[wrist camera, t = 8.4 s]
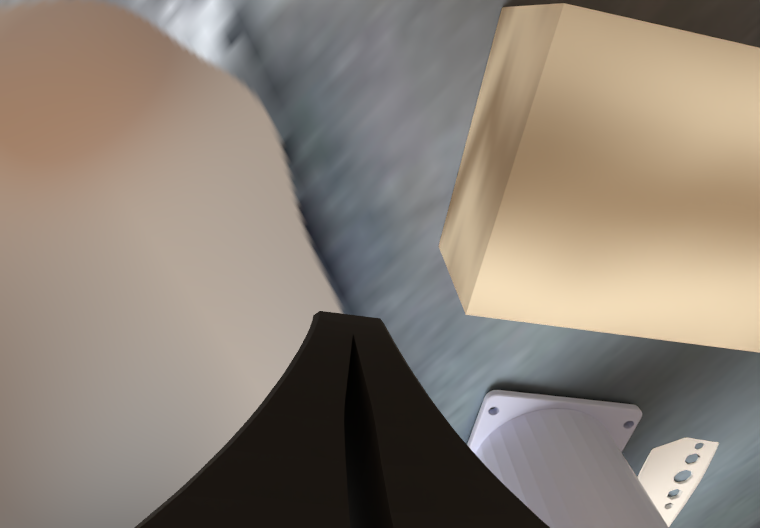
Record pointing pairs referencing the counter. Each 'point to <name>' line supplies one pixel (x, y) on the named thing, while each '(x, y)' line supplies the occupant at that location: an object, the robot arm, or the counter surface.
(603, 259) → the wooden box
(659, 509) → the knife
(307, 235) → the counter surface
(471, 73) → the counter surface
